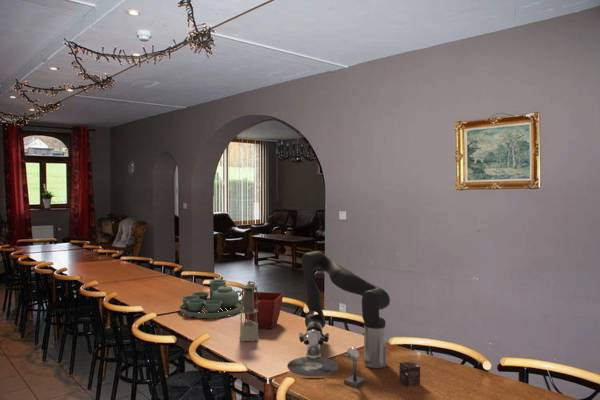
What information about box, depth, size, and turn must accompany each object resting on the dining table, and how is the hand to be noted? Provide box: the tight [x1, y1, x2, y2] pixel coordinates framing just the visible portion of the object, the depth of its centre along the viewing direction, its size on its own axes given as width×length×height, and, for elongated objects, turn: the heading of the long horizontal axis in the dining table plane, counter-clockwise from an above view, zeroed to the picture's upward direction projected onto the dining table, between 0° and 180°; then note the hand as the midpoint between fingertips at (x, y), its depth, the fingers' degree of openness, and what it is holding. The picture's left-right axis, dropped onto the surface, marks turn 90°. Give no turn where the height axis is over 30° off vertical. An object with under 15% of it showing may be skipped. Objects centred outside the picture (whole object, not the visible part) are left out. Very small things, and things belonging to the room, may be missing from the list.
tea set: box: [179, 278, 244, 319], centre depth 291 cm, size 40×40×16 cm
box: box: [398, 360, 421, 387], centre depth 183 cm, size 6×6×7 cm
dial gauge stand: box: [341, 346, 366, 388], centre depth 183 cm, size 9×6×14 cm, turn 50°
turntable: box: [287, 356, 340, 380], centre depth 196 cm, size 22×22×1 cm
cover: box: [306, 329, 322, 360], centre depth 203 cm, size 6×6×12 cm
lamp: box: [238, 280, 260, 342], centre depth 234 cm, size 10×13×30 cm
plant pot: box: [243, 291, 284, 330], centre depth 259 cm, size 19×19×17 cm
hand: (313, 342), depth 201 cm, fingers closed on cover, 6 cm apart
